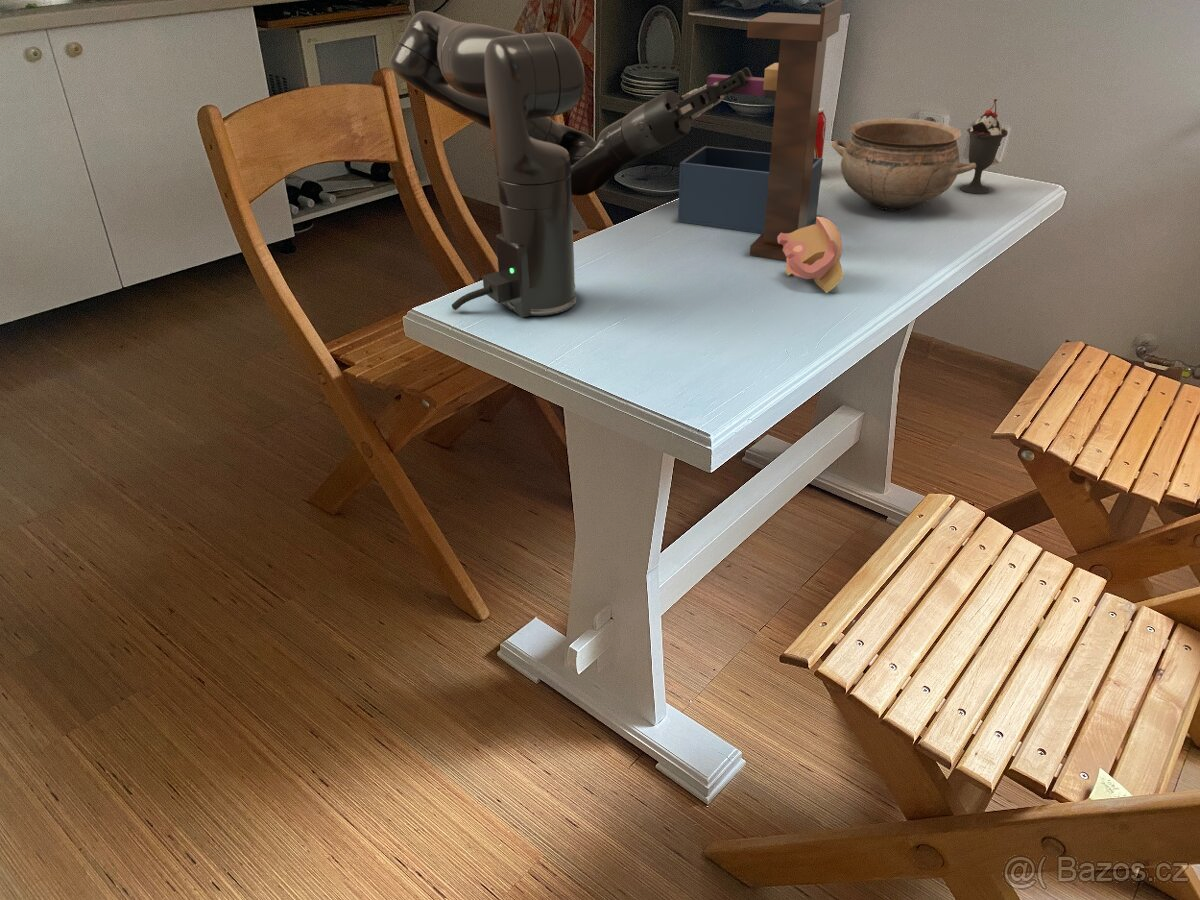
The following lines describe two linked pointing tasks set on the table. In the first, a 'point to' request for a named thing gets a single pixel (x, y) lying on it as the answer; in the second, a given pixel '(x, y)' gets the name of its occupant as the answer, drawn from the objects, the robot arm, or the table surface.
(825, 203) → the table surface
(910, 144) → the cooking pot
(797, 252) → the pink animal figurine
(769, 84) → the brush
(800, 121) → the dark wooden post
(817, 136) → the soda can
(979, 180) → the sundae
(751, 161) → the blue open box
